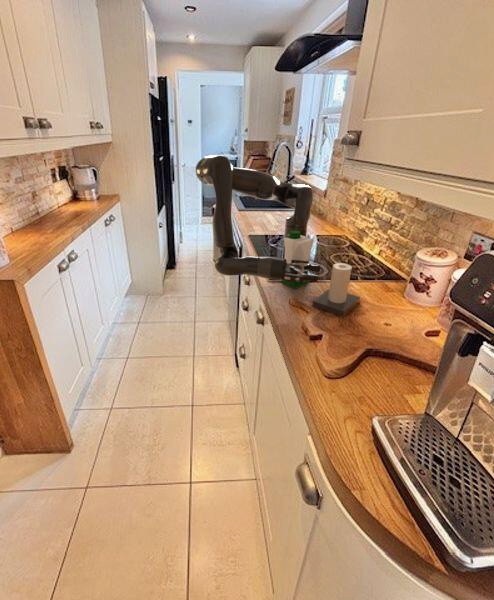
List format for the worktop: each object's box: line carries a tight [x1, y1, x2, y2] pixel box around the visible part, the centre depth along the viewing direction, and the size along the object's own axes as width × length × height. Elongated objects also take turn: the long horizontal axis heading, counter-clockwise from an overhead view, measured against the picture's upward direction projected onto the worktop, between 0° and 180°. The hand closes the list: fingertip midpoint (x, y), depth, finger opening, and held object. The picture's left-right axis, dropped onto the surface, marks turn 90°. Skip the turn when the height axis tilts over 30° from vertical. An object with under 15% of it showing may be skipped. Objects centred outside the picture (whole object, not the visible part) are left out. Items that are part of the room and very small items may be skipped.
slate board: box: [311, 288, 361, 318], centre depth 111 cm, size 13×11×2 cm
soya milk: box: [281, 230, 315, 289], centre depth 122 cm, size 9×9×20 cm
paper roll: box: [328, 262, 353, 303], centre depth 108 cm, size 6×6×12 cm
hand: (319, 273), depth 109 cm, fingers open, 8 cm apart
